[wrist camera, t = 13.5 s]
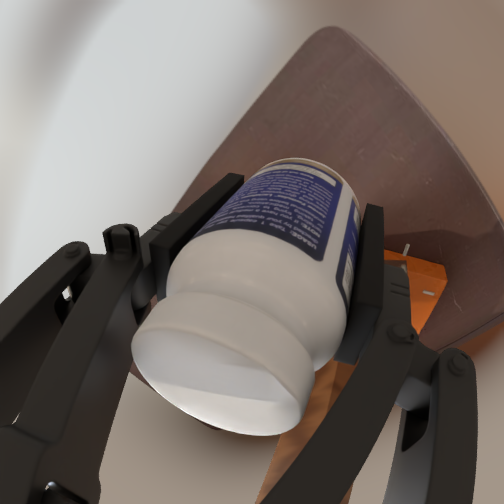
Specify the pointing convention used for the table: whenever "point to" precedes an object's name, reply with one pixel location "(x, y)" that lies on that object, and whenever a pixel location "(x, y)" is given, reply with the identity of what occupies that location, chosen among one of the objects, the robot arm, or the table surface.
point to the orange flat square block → (421, 285)
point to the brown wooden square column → (308, 422)
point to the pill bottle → (256, 301)
